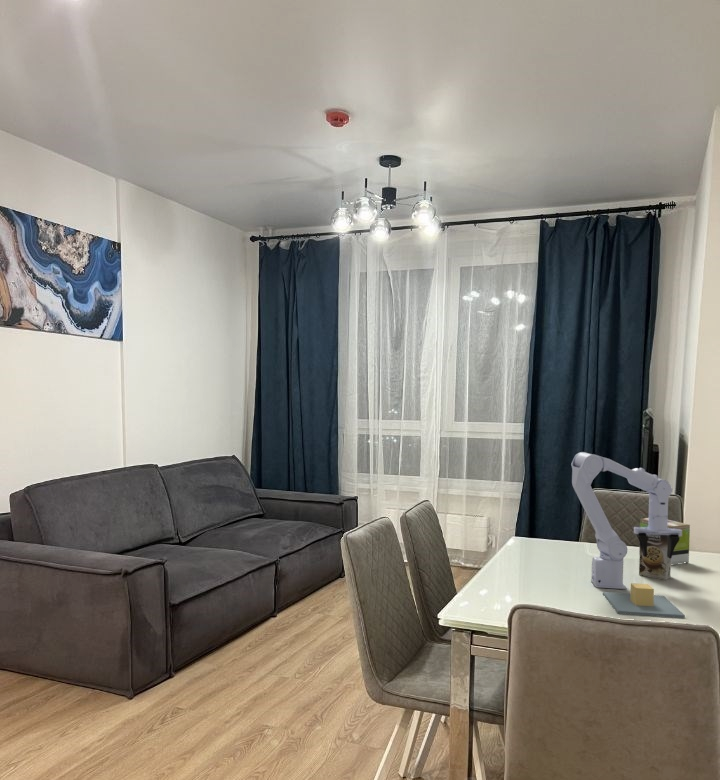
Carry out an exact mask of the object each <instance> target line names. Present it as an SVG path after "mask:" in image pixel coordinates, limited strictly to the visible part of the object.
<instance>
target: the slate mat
mask: <svg viewBox="0 0 720 780" xmlns="http://www.w3.org/2000/svg"><path fill="white" fill-rule="evenodd" d="M602 596H603V597H604V596H605V597H604V598H605V599H606V601H607V600H608V601H607V602H608V603H609V604H610V606H611V605H612V606H611V607H612V608H613V609H615V610H614V611H615V612H616V613H617V615H618V614H619V615H633V616H646V617H647V616H649V617H662V618H664V617H665V618H675V619H679V618H680V619H685V618H686V616H685V614H684V612H682V611H681V610H680V609H679V608H678V607H677V606H675V604H673V603H672V602H671V601H670V600H669V599H668V598H667V597H666V596H665V595H660V594H659V595H658V594H657V595H656V594H654V603H653V606H641V605H635V604H634V603H633V602H632V601H631V600H630V597H631V593H626V592H625V593H624V592H612V591H611V592H610V591H609V592H608V591H603V592H602Z"/></svg>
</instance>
